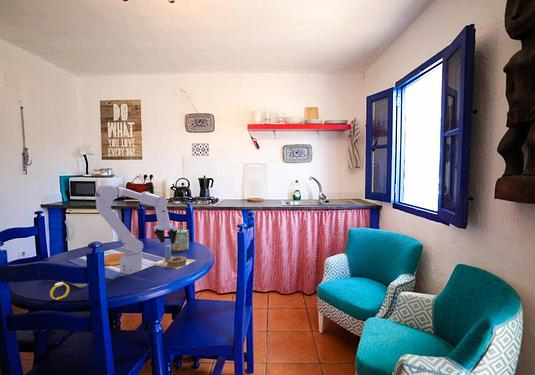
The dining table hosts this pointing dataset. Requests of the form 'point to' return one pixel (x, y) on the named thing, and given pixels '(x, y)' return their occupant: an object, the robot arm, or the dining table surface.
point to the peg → (167, 252)
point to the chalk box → (181, 240)
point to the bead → (176, 261)
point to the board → (164, 264)
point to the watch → (58, 286)
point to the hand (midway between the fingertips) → (168, 242)
